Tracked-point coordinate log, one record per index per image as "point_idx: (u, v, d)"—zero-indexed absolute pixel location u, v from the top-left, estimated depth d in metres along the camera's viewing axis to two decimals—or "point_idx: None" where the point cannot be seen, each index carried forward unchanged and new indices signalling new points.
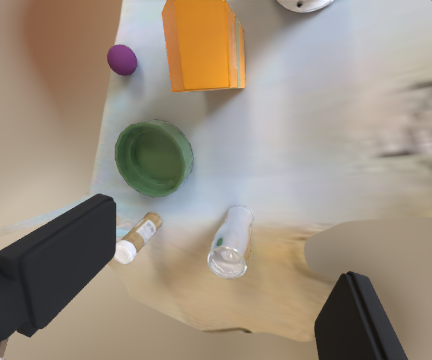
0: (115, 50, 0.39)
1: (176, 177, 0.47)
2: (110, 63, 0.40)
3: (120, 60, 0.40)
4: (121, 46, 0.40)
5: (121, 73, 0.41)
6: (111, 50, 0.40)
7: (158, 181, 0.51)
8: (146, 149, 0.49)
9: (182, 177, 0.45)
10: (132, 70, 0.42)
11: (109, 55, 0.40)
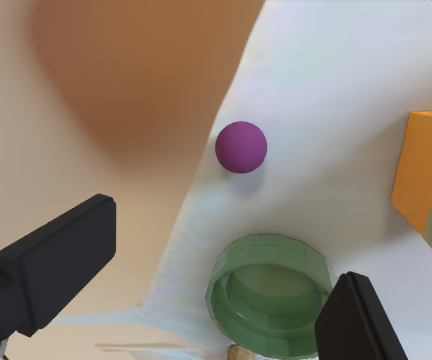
0: (241, 139, 0.20)
1: (307, 327, 0.28)
2: (225, 159, 0.21)
3: (248, 157, 0.20)
4: (249, 128, 0.20)
5: (240, 173, 0.22)
6: (231, 137, 0.20)
7: (265, 316, 0.32)
8: (250, 271, 0.30)
9: None
10: (258, 165, 0.22)
11: (226, 146, 0.20)
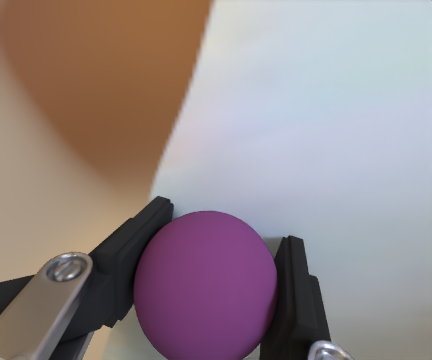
0: (194, 306, 0.06)
1: None
2: (154, 346, 0.07)
3: (223, 358, 0.06)
4: (225, 257, 0.06)
5: None
6: (165, 294, 0.06)
7: None
8: None
9: None
10: None
11: (151, 319, 0.06)
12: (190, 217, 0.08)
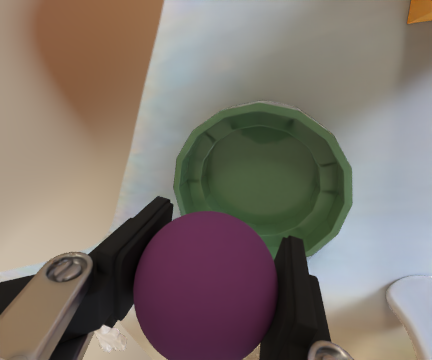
0: (194, 306, 0.06)
1: (303, 224, 0.22)
2: (154, 346, 0.07)
3: (222, 357, 0.06)
4: (225, 257, 0.06)
5: None
6: (165, 294, 0.06)
7: (251, 225, 0.26)
8: (231, 164, 0.24)
9: (335, 230, 0.19)
10: None
11: (151, 319, 0.06)
12: (190, 217, 0.08)
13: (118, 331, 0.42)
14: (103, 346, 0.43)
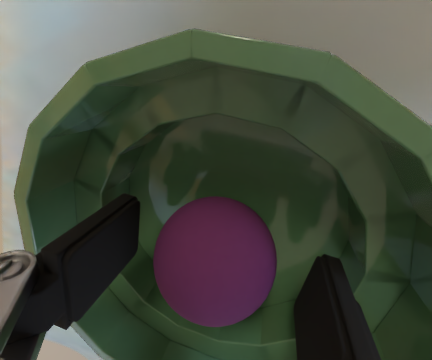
0: (208, 268, 0.07)
1: None
2: (172, 306, 0.08)
3: (230, 312, 0.07)
4: (232, 231, 0.08)
5: None
6: (183, 259, 0.07)
7: None
8: (173, 196, 0.12)
9: None
10: None
11: (171, 281, 0.08)
12: (201, 200, 0.09)
13: None
14: None
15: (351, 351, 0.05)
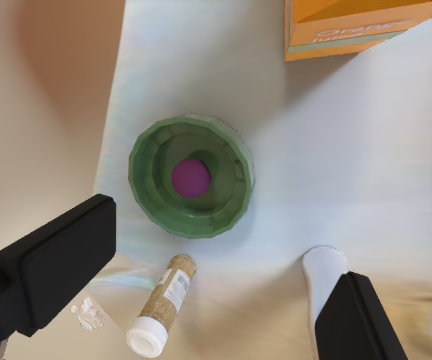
0: (186, 174, 0.26)
1: (228, 206, 0.29)
2: (177, 188, 0.27)
3: (193, 187, 0.27)
4: (194, 165, 0.27)
5: None
6: (180, 172, 0.27)
7: (195, 210, 0.33)
8: (176, 162, 0.31)
9: (244, 208, 0.26)
10: (205, 191, 0.29)
11: (177, 179, 0.27)
12: (186, 159, 0.28)
13: (97, 311, 0.48)
14: (84, 325, 0.49)
15: None
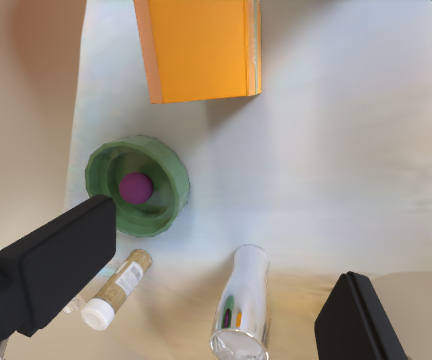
0: (129, 185, 0.33)
1: (167, 211, 0.36)
2: (123, 197, 0.34)
3: (134, 196, 0.33)
4: (136, 178, 0.33)
5: None
6: (124, 184, 0.33)
7: (145, 213, 0.39)
8: (128, 173, 0.38)
9: (175, 214, 0.33)
10: (148, 199, 0.35)
11: (121, 189, 0.33)
12: (132, 172, 0.35)
13: None
14: (63, 308, 0.56)
15: None
